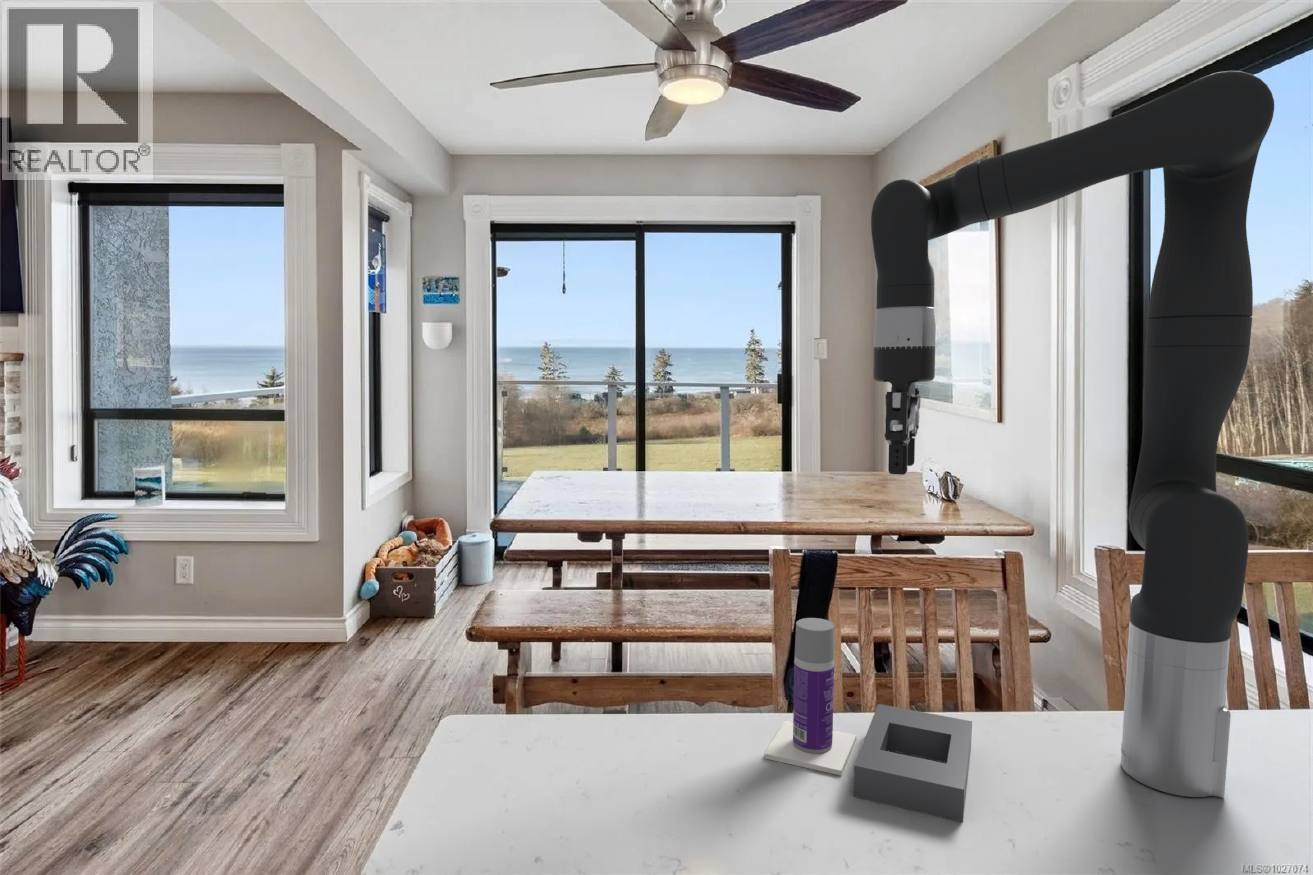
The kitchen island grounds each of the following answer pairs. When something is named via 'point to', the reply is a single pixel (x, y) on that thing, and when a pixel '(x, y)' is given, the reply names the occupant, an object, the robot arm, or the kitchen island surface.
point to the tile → (825, 762)
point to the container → (813, 685)
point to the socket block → (915, 762)
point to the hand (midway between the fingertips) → (901, 469)
